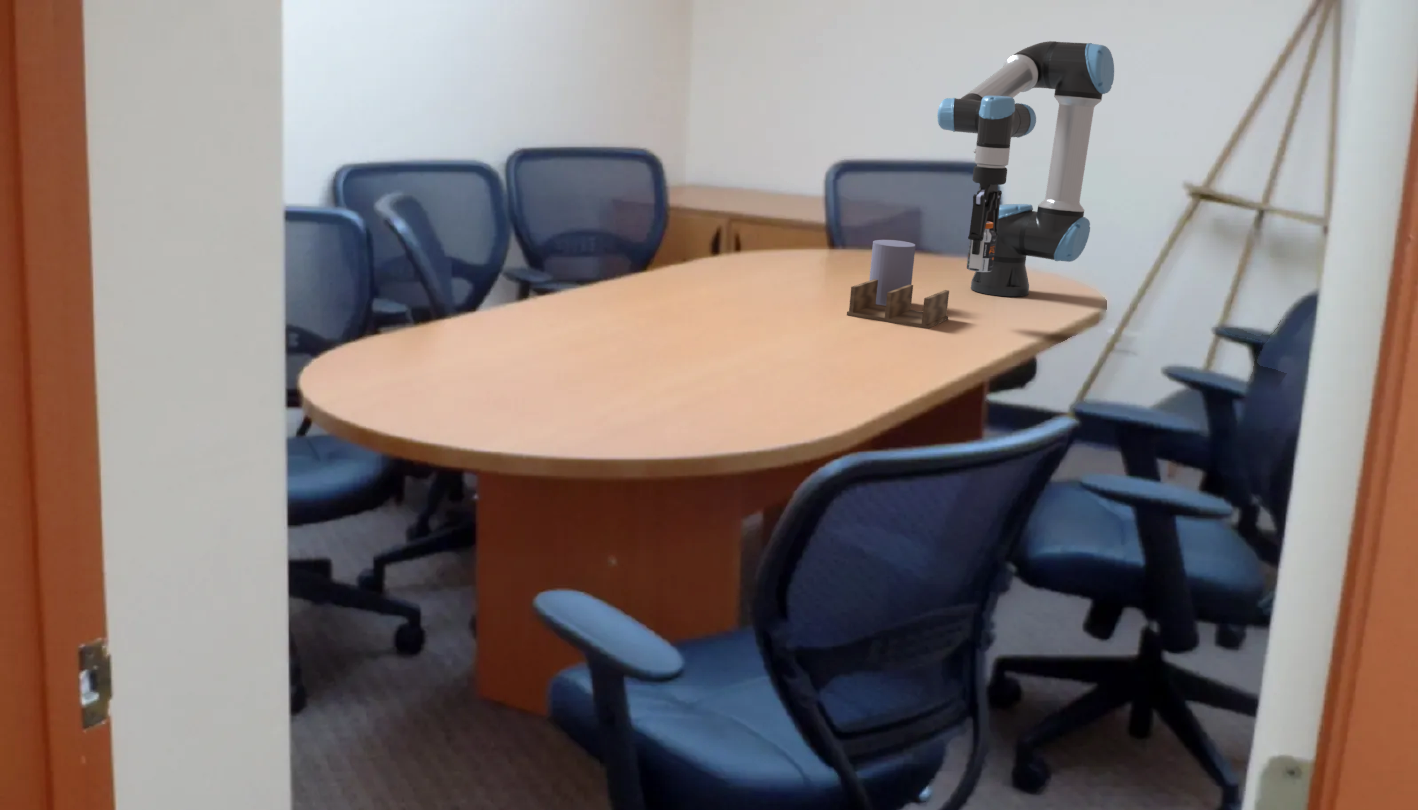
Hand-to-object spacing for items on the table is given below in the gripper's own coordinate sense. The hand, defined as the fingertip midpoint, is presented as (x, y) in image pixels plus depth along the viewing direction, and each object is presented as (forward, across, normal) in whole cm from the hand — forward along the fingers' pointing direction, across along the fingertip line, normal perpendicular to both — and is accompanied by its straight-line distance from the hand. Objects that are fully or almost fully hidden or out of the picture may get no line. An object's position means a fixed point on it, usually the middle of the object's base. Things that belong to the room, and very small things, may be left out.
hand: (979, 266), depth 313 cm
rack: (+13, +8, -16) cm, 22 cm away
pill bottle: (+1, 0, 0) cm, 1 cm away
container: (+14, -6, -24) cm, 29 cm away
